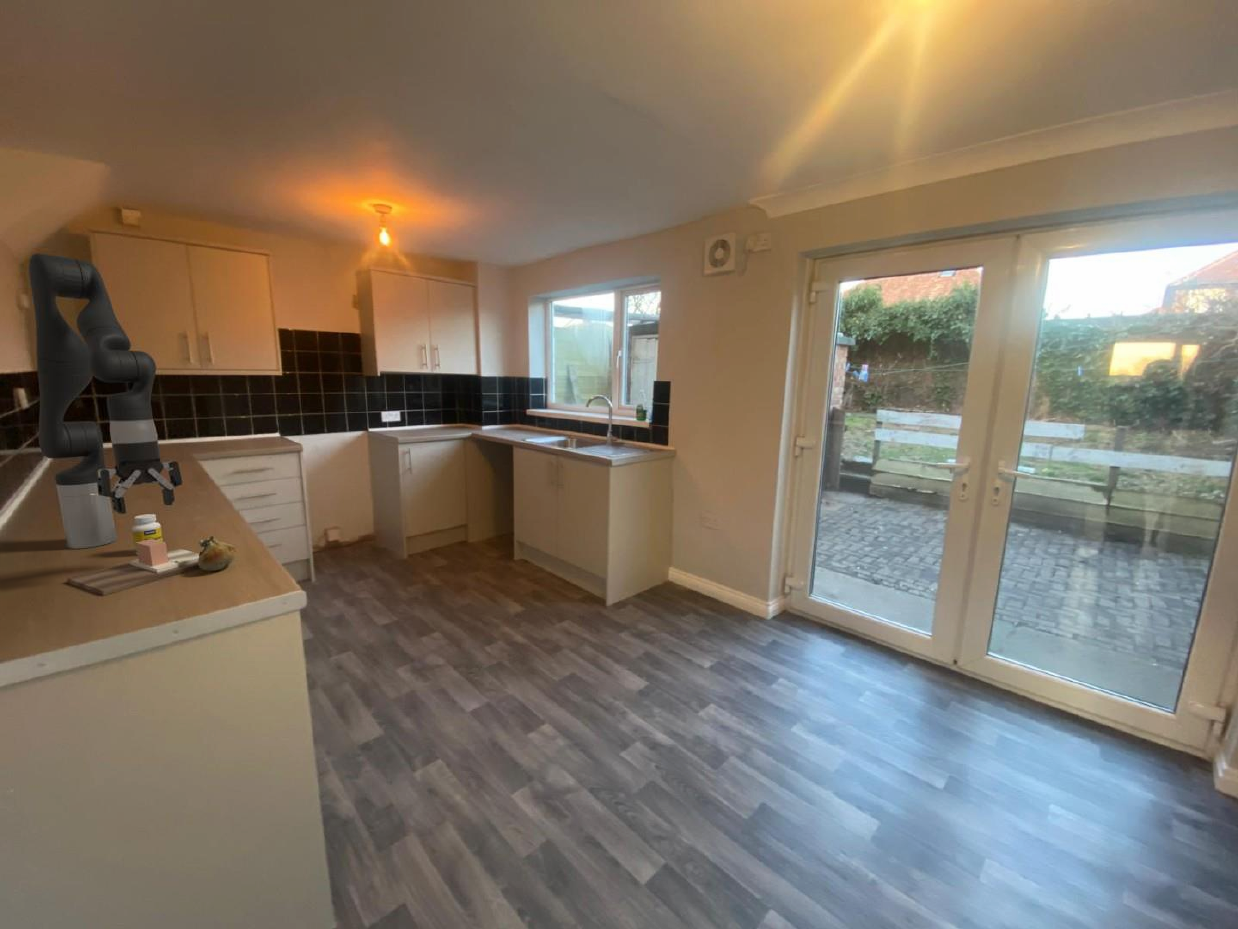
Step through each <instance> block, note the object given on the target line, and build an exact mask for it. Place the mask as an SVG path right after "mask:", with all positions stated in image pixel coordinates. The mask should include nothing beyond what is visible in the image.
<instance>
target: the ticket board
mask: <svg viewBox="0 0 1238 929" xmlns="http://www.w3.org/2000/svg"><path fill="white" fill-rule="evenodd" d="M199 554H200V553H198V552H194V551H190V550H186V549H181V548H178V549H174V550H170V551H167V555H168V561H170V562H174V563H178V566H179V567H177V568H173V569H169V570H166V571H162V572H159V573H157V572H153V571H150V570H147V569H143V568H140V567H137V566H133V565H130V561H129V562H126V563H122V564H118V565H114V566H110V567H107V568H101V569H99V570H98V569H97V570H94V571H90V572H85V573H82V574H79V575H73V576H70V577H67V578H66V580H67V583H68V584H70V585H74V586H76V587H78V588H79V587H80V588H82V589H84V590H87V589H88V591H89V592H93V593H95V594H99V595H101V596H108V595H111V594H115V593H117V592H122V591H125V590H128V589H132V588H135V587H139V586H142V585H146V584H149V583H153V582H156V581H159V580H163V579H166V578H170V577H173V576H177V575H180V574H184V573H187V572H190V571H193V570H197V569H201V568H200V567H199V565H198V559H199Z"/></svg>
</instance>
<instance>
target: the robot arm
mask: <svg viewBox="0 0 1238 929" xmlns="http://www.w3.org/2000/svg"><path fill="white" fill-rule="evenodd" d="M28 263H29V264H28V275H29V282H30V288H31V297H32V300H33V306H34V307H33V309H34V316H35V329H36V330H35V331H36V332H35V333H36V335H35V336H36V338H35V339H36V341H35V342H36V344H35V345H36V347H35V348H36V352H35V353H36V366H37V367H36V368H37V377H38V378H37V379H38V385H39V386H38V388H39V417H38V419H39V420H38V443H39V444H38V445H39V448H40V451H41V453H42V455H43V456H45V458H48V459H54V460H55V459H56V460H57V459H69V458H79V457H82V459H81V461H80V462H79V463H77V464H75V465H74V466H72V467H68V468H66V469H64V470H61V471H59V472H57V473H56V474H55V475H54V480H55V484H56V490H57V491H56V492H57V496H58V501H59V505H60V512H61V517H62V523H63V529H64V535H65V541H66V545H67V548H68V549H74V550H75V549H77V550H78V549H87V548H95V547H100V546H103V545H104V546H105V545H108V544H111V543H114V542H116V541H117V534H116V528H115V521H114V515H113V512H115V513H117V514H118V515H119V514H120V515H124V514H127V509H126V503H125V497H123V495H124V494H125V492H126V491H127V490H129V489H130V488H131V487H132V485H134V486H138V485H142V484H151V483H152V484H153V483H155V484H157V485H158V486H159V487H161V488H162V489H161V494H162V500H163V504H164V506H172V505H173V503H175V493H174V489H175V488H176V487H179V486H182V485H183V480H182V474H181V471H180V466H179V462H178V461H175V460H168V461H166V462H162V461H161V456H160V455H161V454H160V447H159V440H158V432H157V428H156V424H155V422H154V417H153V410H152V404H151V403H152V402H151V401H152V400H151V398H152V391H153V385H154V383H155V382H154V380H155V378H156V374H157V373H156V371H157V365H156V362H155V360H154V359H153V357H152V356H151V355H150V354H149V353H147V352H145V351H141V350H131V346H132V343H131V340H130V339H129V337H128V334H126V333H127V332H125V330H124V328H123V327H122V326H121V324H120V322H119V321H118V319H117V317H116V314H115V312H114V308H113V305H112V302H111V299H110V296H109V293H108V291H107V288H106V285H105V282H104V280H103V277H102V275H101V273H100V271H99V269H98V267H96V266H95V265H94V264H93V263H91V262H90V261H87V260H83V259H78V258H72V257H67V256H66V257H65V256H60V255H55V254H54V255H53V254H47V253H46V254H45V253H34V254H32V255H31V256H30V258H29V262H28ZM57 297H58V298H67V299H74V300H75V299H77V300H88V303H87V304H86V305H85V306H84V307H83V309H82V310H81V311H80V312H79V314H78V315H77V318H76V326H77V329H78V331H79V334H80V335H81V336H79V334H78V333H77V332H76V331H75V330H74V329H73V328H72V326H70V324H69V323H68V322H67V320H66V319H65V318H64V317H63V315H62V314H61V312H60V310H59V307H58V305H57V300H56V298H57ZM81 337H82V338H81ZM93 377H94V378H96V379H98V380H99V381H100V382H101V381H102V382H103V383H104V382H105V383H133V385H132V388H130V390H127V391H124V392H118V393H113V394H110V395H108V396H106V397H107V398H106V406H107V413H108V418H109V432H110V433H109V435H110V440H111V441H110V442H111V447H112V452H113V458H114V459H113V460H114V463H115V466H114V468H108V469H107V468H106V461H105V454H104V452H105V451H104V440H103V434H102V431H101V429H100V427H99V425H98V424H96V423H95V422H93V421H70V422H69V421H68V422H63V421H64V417H65V416H64V415H65V414H66V411H67V410H68V408H69V406H70V405H71V403H72V402H73V401H74V400H75V399H77V397H78V396H79V395H80V394H81V393H82V392H83V391H84V390H85V389H86V388H87V386H89V384H90V383H91V381H92V379H93ZM164 469H165V471H167V472H168V476H169V480H170V481H169V480H168V479H167V478H165V477H164V476H163V475H162V474H161V473H162V471H163V470H164ZM114 474H115V475H116V476H117V477H119V479H118V480H117V481H116V482H115V484H114V487H113V489H111V487H112V486H111V479H112V478H113V476H114ZM111 503H112V504H111Z"/></svg>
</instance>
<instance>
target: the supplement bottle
mask: <svg viewBox="0 0 1238 929" xmlns="http://www.w3.org/2000/svg"><path fill="white" fill-rule="evenodd" d="M156 521H157V516H156V514H152V513H151V514H150V513H148V514H147V513H146V514H140V515H136V516H135V517H134V523H135V525H133V526H132V528H131V530H132V532H131V533H132V537H133V538H132V540H133V546H134V551H135V555H137V556H138V553H137V547H136V542H141V541H145V540H149V539H154V540H158V541H162V542H164V540H163V533H162V526H161V524H160V523H159V522H158V521H157V522H156Z"/></svg>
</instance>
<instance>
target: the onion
mask: <svg viewBox="0 0 1238 929" xmlns="http://www.w3.org/2000/svg"><path fill="white" fill-rule="evenodd" d="M198 544H199V546H200V547H201V548H203V549H202V551H199V553H198V554H199V559H198V565H199V567H200V568H199V569H201V570H202V571H206V572H215V571H216V572H217V570H218V571H222V570H225V569H226V568H228V567H229V566H230V565H231V564H232V563H233V561H234V560H235V559H236V556H237V549H236V547H235V546H234V545H233V544H231V543H228V542H227V543H226V542H222V541H218V540H217V539H216V536H213V535H210V536H209V537H207V538H205V539H204V540H202V539H200V540H199V541H198Z"/></svg>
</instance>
